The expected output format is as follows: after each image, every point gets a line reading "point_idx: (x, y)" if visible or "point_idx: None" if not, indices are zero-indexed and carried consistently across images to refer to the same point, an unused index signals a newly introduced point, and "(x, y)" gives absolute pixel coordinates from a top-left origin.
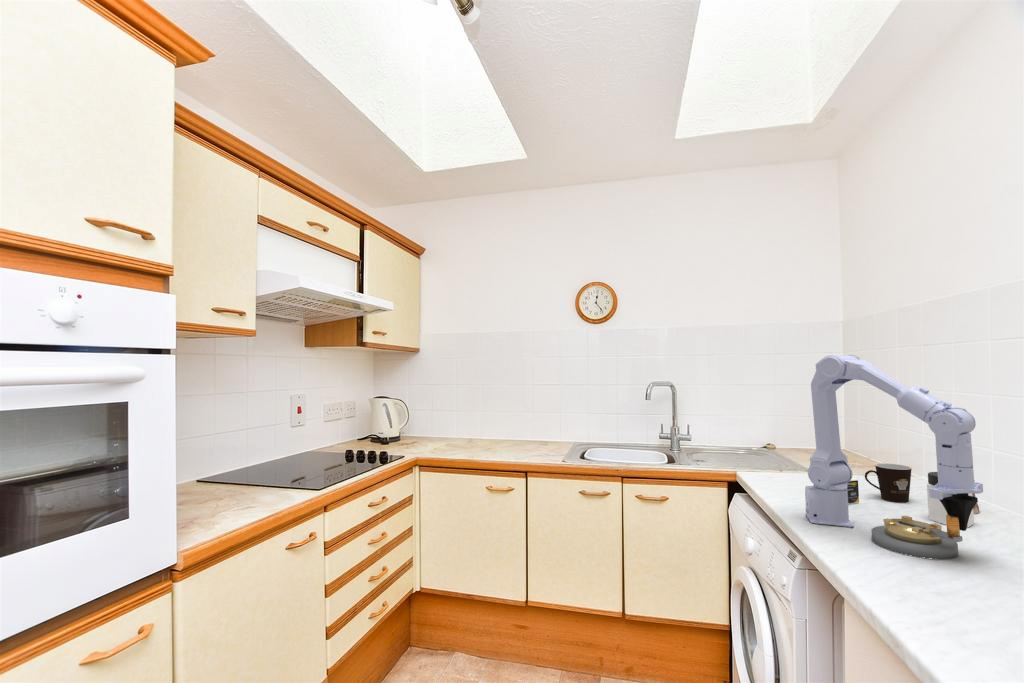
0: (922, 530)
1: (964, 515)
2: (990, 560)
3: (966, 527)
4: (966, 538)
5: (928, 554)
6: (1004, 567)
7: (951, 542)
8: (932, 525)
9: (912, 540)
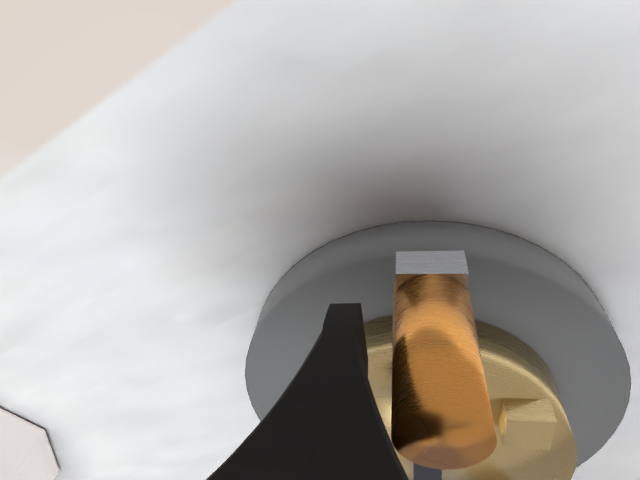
0: (510, 409)
1: (373, 408)
2: (237, 145)
3: (330, 317)
4: (84, 341)
5: (562, 270)
6: (266, 48)
7: (310, 307)
8: None
9: (548, 374)
